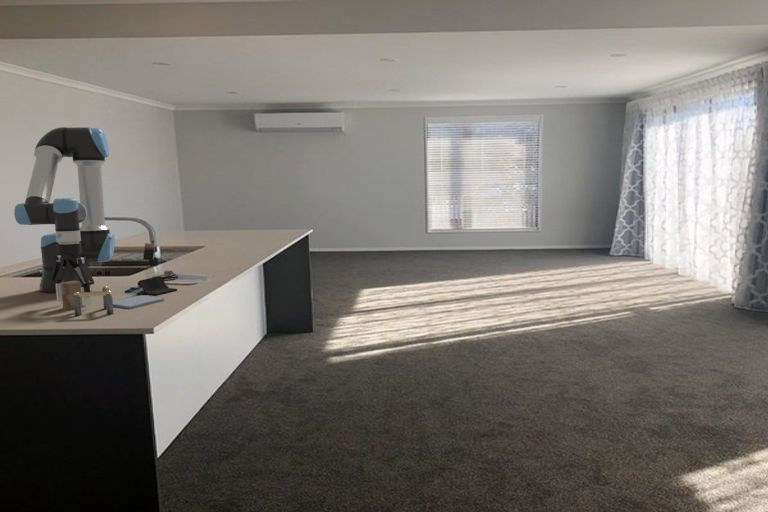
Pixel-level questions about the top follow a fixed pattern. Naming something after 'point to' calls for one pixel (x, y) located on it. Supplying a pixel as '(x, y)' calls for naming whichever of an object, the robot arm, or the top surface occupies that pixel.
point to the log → (168, 276)
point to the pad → (136, 301)
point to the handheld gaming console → (155, 286)
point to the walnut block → (70, 293)
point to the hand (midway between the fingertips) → (73, 303)
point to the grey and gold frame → (106, 295)
